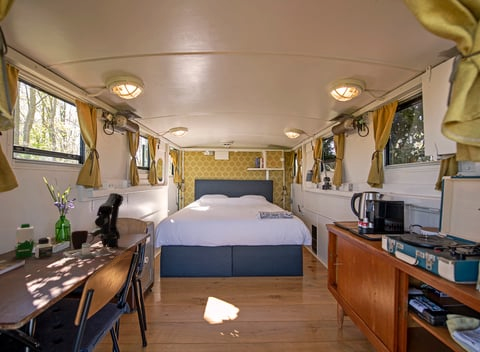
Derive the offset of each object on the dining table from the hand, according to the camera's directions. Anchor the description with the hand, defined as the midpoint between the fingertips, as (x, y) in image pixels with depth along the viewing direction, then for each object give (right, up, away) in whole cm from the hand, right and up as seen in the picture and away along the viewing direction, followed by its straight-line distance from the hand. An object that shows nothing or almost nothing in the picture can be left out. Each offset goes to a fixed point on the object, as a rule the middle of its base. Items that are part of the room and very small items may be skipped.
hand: (104, 247), depth 158 cm
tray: (-16, -4, -5) cm, 17 cm away
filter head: (-4, -4, -5) cm, 8 cm away
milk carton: (-48, -4, -7) cm, 48 cm away
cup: (-23, -5, +12) cm, 27 cm away
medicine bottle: (-34, -4, -8) cm, 35 cm away
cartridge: (-6, -3, -9) cm, 12 cm away
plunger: (0, -3, 0) cm, 3 cm away
